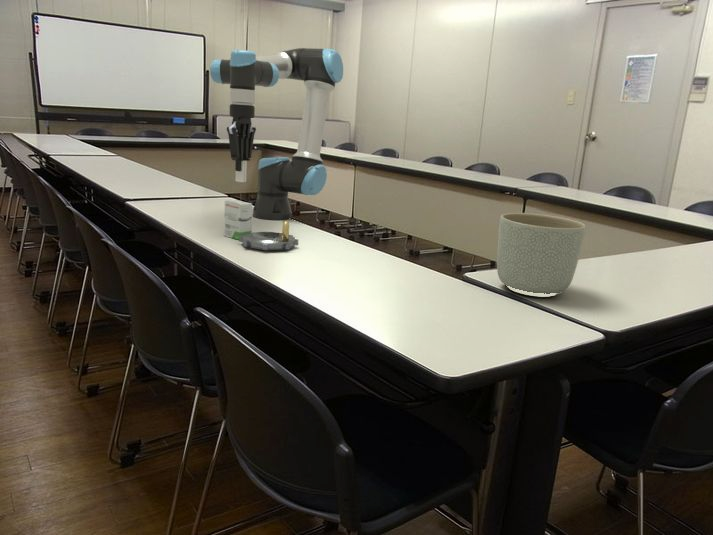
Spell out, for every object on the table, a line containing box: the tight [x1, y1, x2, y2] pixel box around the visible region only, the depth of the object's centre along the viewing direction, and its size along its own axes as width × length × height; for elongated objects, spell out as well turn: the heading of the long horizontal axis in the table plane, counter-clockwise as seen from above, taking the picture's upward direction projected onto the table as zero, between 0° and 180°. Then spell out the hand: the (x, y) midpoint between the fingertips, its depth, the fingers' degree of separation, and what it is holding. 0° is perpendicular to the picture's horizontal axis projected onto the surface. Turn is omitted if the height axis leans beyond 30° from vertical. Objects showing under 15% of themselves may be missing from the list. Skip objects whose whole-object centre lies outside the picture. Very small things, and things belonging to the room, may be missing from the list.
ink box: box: [223, 199, 253, 241], centre depth 185 cm, size 9×5×12 cm, turn 49°
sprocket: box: [238, 220, 299, 251], centre depth 177 cm, size 18×18×8 cm
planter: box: [496, 212, 587, 294], centre depth 148 cm, size 21×21×19 cm
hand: (240, 181), depth 181 cm, fingers closed
